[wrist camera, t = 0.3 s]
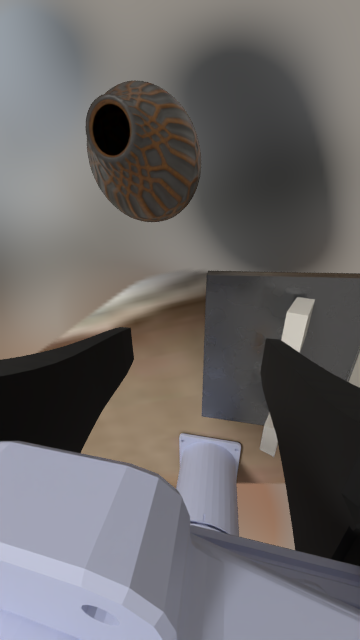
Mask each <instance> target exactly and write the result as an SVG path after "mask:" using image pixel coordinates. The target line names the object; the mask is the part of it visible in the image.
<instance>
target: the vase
mask: <svg viewBox="0 0 360 640" xmlns="http://www.w3.org/2000/svg"><path fill="white" fill-rule="evenodd" d="M86 134H87V152H88V158H89V163H90V167H91V170H92V173H93V175H94V178H95V180H96V182H97V184H98V186H99V187H100V189H101V190H102V192H103V193H104V195H105V196H106V197H107V199H108V200H109V201H110V202H111V203H112V204H113V205H114V206H115V207H116V208H117V209H119V210H120V211H121V212H123V213H124V214H126V215H128V216H129V217H131V218H134V219H137V220H141V221H145V222H159V221H164V220H167V219H170V218H172V217H174V216H176V215H177V214H178V213H180V212H181V211H182V210H183V209H184V208H185V207H186V206H187V205H188V203H189V202H190V200H191V199H192V197H193V195H194V193H195V191H196V189H197V186H198V182H199V178H200V172H201V153H200V146H199V141H198V138H197V134H196V131H195V128H194V126H193V123H192V121H191V119H190V117H189V116H188V114H187V113H186V111H185V110H184V108H183V107H182V106H181V104H180V103H179V102H178V101H177V100H176V99H175V98H174V97H173V96H171V95H170V94H169V93H168V92H166V91H165V90H163V89H162V88H160V87H158V86H156V85H154V84H151V83H148V82H143V81H127V82H124V83H121V84H118V85H117V86H115V87H113V88H112V89H110V90H109V91H107V92H106V93H105V94H104V95H101V96H99V97H98V98H97V99H95V100H94V102H93V103H92V104H91V106H90V108H89V110H88V113H87V118H86Z"/></svg>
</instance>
